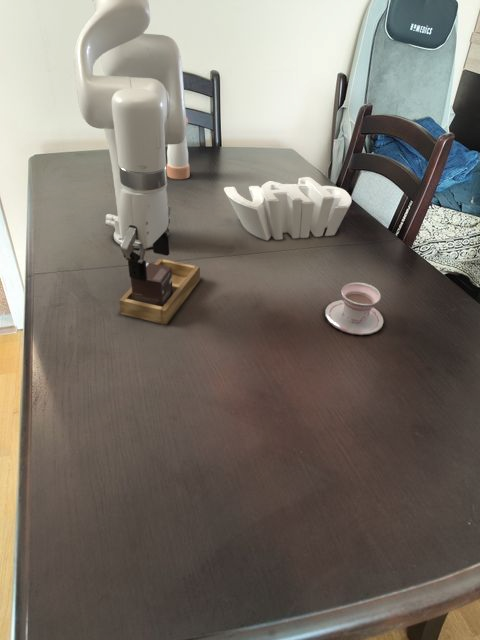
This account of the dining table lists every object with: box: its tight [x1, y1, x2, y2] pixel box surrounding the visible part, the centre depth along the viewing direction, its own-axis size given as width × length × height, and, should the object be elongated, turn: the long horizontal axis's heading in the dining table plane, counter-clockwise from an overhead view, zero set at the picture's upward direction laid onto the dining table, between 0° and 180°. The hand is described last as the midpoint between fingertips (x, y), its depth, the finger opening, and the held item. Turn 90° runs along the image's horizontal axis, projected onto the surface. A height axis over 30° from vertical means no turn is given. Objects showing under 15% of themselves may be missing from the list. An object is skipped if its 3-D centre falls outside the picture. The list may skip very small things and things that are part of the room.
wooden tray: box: [118, 257, 201, 325], centre depth 94 cm, size 9×18×3 cm, turn 165°
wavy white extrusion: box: [223, 176, 353, 241], centre depth 123 cm, size 35×16×10 cm, turn 105°
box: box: [130, 262, 173, 307], centre depth 89 cm, size 6×6×7 cm
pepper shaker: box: [166, 116, 191, 180], centre depth 143 cm, size 7×7×19 cm
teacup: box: [324, 281, 384, 336], centre depth 92 cm, size 12×12×6 cm
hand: (150, 265), depth 87 cm, fingers open, 9 cm apart
